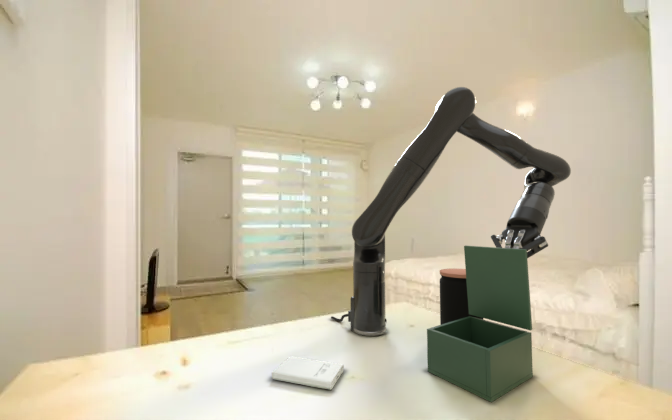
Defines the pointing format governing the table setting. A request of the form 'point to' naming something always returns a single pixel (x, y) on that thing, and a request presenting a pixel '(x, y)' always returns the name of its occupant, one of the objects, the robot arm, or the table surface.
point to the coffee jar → (453, 295)
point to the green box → (480, 356)
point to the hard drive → (308, 372)
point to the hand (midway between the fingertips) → (505, 268)
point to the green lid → (498, 285)
